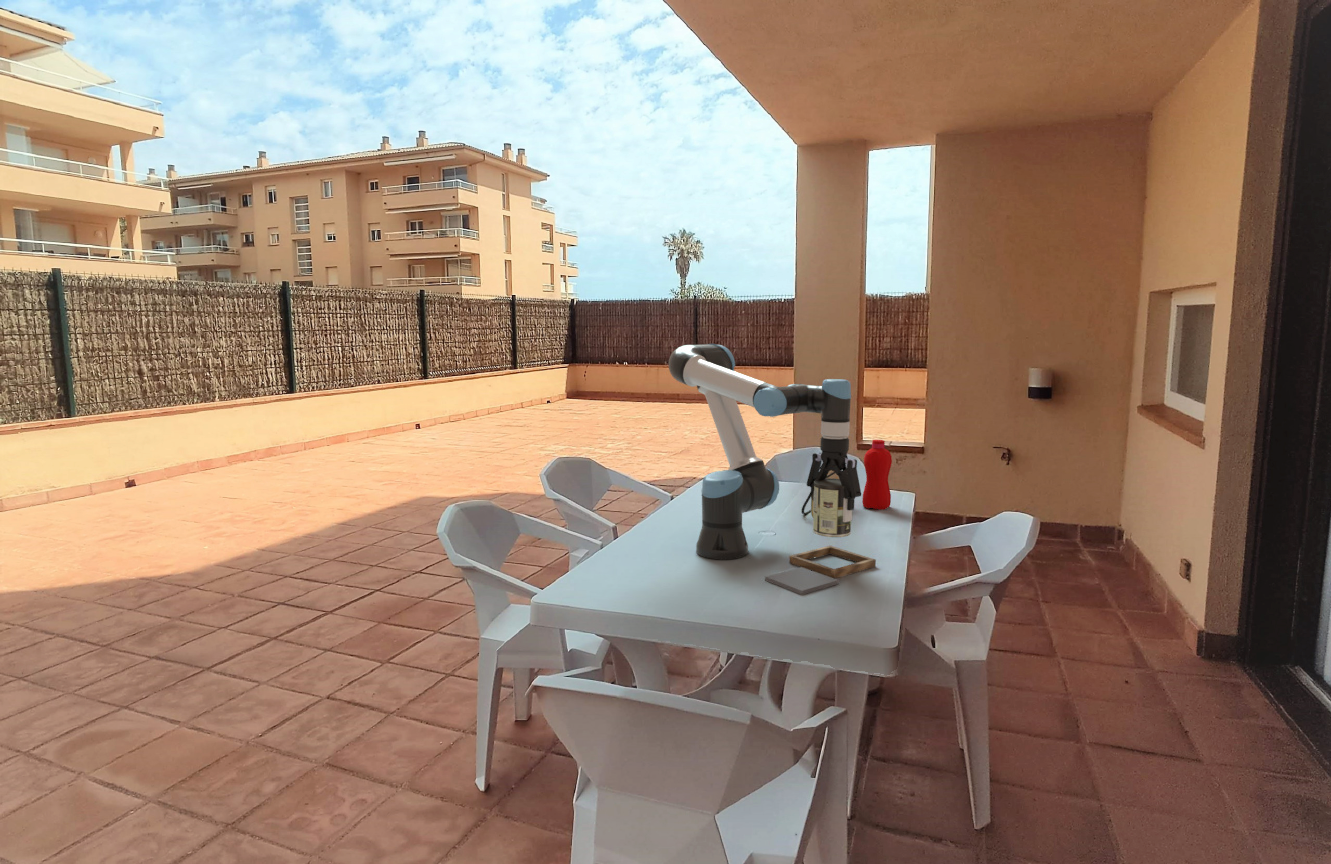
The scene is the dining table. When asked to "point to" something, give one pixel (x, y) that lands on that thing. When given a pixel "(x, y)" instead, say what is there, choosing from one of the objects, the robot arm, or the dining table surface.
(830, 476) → the clutch purse
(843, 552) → the frame
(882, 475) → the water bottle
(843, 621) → the dining table surface
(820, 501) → the coffee can
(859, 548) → the dining table surface
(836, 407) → the robot arm
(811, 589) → the mat
